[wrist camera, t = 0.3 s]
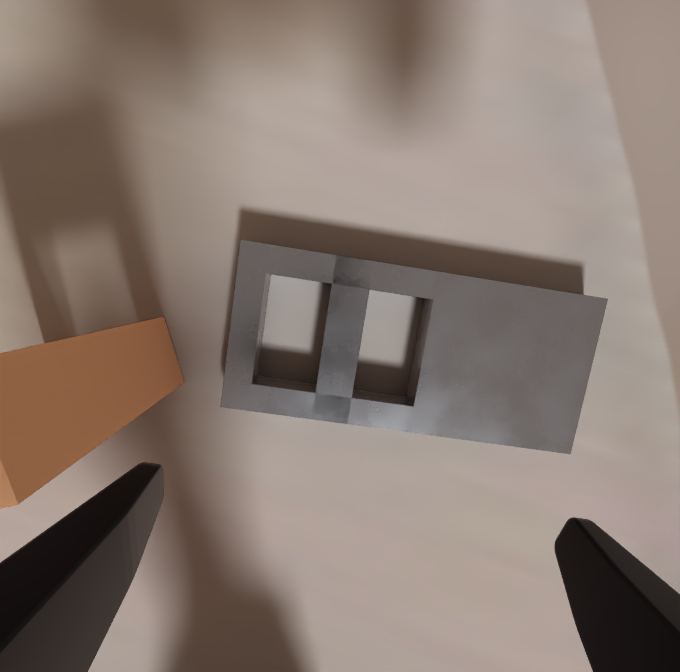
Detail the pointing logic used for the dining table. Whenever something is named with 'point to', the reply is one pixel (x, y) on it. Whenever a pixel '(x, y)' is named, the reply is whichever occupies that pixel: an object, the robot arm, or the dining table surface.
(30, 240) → the dining table surface
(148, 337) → the clip
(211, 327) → the dining table surface
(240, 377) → the gray slotted base
